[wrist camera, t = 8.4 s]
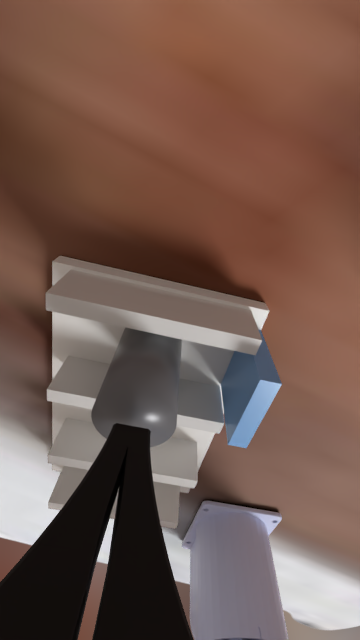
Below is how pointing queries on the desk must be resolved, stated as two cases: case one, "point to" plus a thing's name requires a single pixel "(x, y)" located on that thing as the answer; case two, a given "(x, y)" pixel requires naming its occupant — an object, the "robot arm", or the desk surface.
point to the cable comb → (195, 370)
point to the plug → (141, 386)
